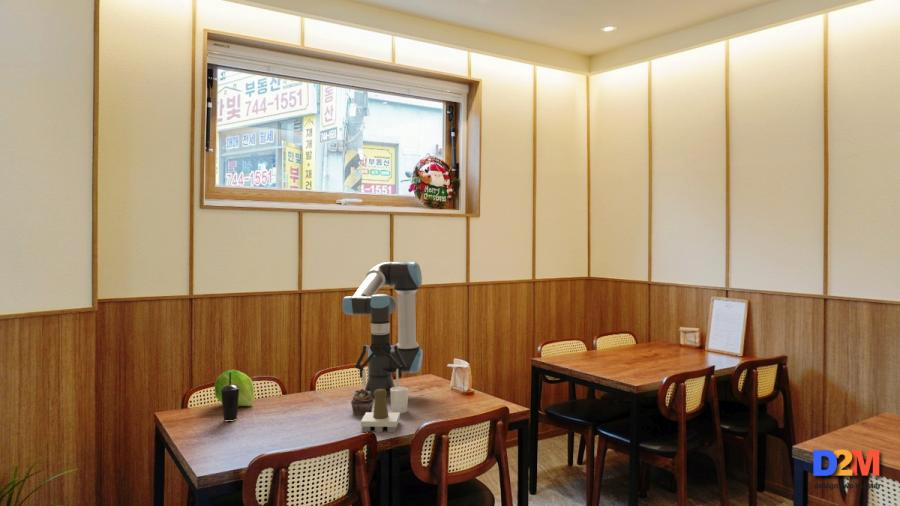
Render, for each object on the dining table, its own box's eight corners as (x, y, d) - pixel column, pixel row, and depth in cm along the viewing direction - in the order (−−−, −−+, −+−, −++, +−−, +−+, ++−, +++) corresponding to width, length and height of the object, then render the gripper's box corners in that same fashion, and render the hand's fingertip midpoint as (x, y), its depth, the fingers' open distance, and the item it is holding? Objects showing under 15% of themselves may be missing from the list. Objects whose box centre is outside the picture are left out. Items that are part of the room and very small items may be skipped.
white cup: (405, 414, 247) (405, 391, 246) (388, 413, 248) (387, 390, 248) (410, 409, 254) (410, 386, 254) (393, 408, 256) (393, 386, 256)
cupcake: (377, 410, 252) (377, 388, 252) (365, 417, 243) (365, 393, 243) (359, 408, 256) (359, 386, 256) (346, 414, 247) (346, 391, 247)
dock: (366, 421, 237) (366, 412, 237) (400, 422, 236) (399, 412, 236) (360, 431, 225) (360, 421, 225) (396, 431, 224) (396, 421, 224)
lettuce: (231, 416, 249) (254, 386, 252) (198, 389, 254) (221, 360, 257) (248, 418, 265) (270, 389, 268) (217, 392, 271) (239, 365, 274)
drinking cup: (244, 418, 242) (243, 371, 241) (231, 424, 234) (231, 375, 234) (229, 416, 244) (228, 369, 244) (216, 422, 237) (216, 373, 237)
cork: (373, 414, 233) (373, 387, 233) (388, 414, 234) (388, 387, 233) (372, 419, 227) (372, 391, 227) (388, 418, 228) (387, 390, 227)
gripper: (347, 334, 226) (348, 388, 227) (410, 334, 226) (411, 388, 226) (351, 331, 234) (351, 383, 235) (412, 331, 233) (412, 383, 234)
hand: (380, 385), depth 231 cm, fingers open, 13 cm apart
